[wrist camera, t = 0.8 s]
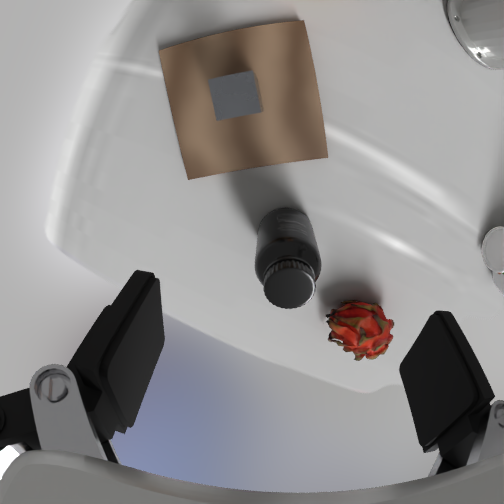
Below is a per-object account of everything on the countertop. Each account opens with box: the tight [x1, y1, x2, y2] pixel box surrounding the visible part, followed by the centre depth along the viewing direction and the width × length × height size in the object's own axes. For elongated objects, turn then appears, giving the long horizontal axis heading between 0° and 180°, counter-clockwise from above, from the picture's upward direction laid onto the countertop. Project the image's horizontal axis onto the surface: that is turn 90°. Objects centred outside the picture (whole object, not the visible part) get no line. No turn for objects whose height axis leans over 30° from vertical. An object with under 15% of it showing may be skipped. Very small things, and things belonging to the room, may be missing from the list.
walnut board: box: [159, 20, 328, 180], centre depth 28 cm, size 16×16×2 cm
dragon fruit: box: [326, 300, 394, 361], centre depth 39 cm, size 8×8×12 cm
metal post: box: [208, 70, 264, 121], centre depth 25 cm, size 4×4×7 cm
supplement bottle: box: [255, 208, 321, 309], centre depth 31 cm, size 7×7×12 cm
